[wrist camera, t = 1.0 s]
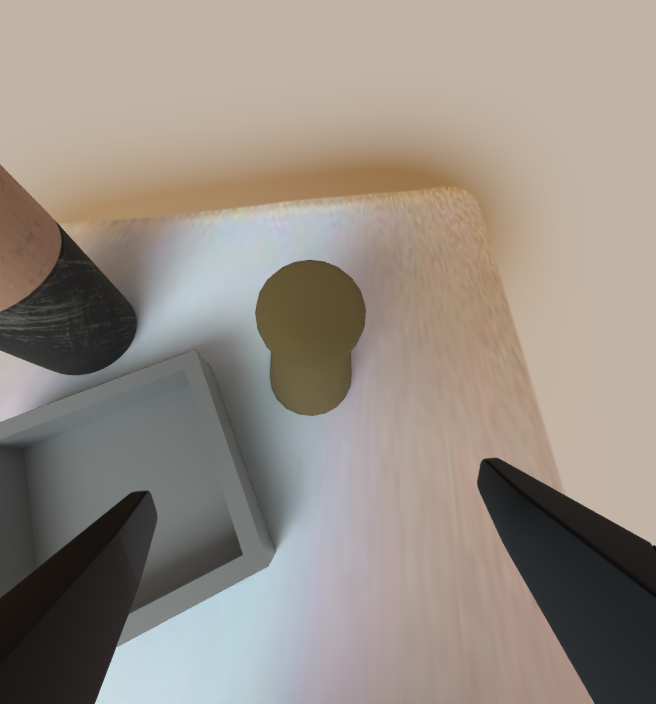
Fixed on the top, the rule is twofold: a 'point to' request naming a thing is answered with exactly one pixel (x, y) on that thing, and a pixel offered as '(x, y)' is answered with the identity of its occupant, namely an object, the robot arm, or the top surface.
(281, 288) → the cork
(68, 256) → the travel mug
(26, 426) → the gray square tray
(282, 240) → the top surface
